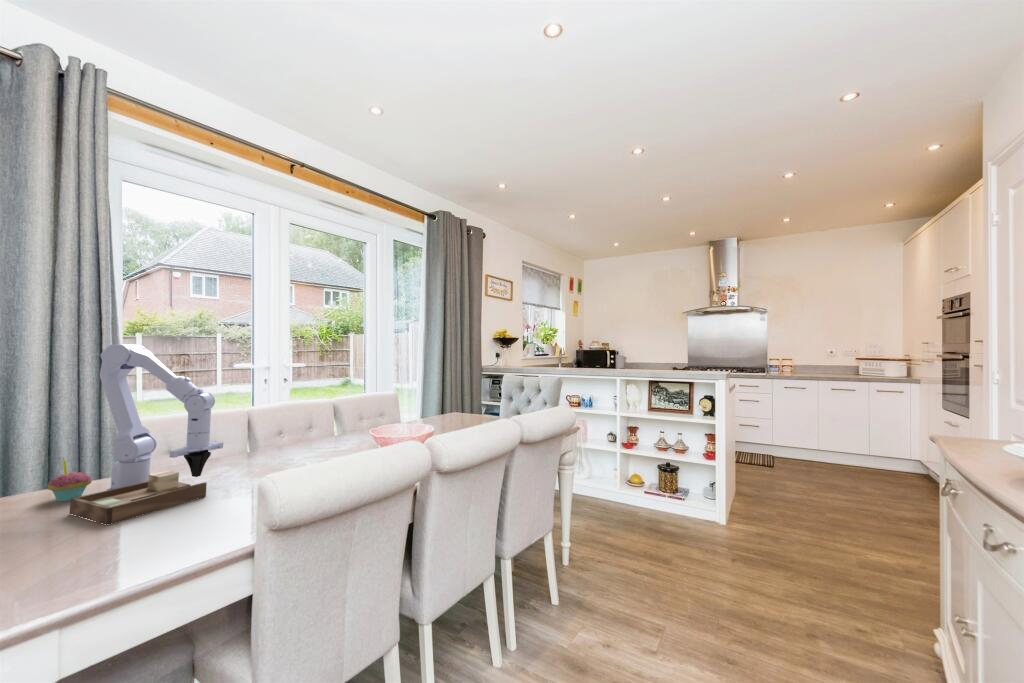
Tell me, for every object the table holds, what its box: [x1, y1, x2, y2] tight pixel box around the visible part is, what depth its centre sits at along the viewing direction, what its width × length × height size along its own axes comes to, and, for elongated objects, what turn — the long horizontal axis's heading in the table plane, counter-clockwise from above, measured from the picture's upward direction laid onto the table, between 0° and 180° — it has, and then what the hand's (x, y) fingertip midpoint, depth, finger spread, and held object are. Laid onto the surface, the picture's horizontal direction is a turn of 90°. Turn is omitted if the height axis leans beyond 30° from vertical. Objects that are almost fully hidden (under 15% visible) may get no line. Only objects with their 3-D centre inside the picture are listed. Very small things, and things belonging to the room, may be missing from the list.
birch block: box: [148, 470, 180, 491], centre depth 121 cm, size 5×5×4 cm
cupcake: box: [47, 457, 93, 502], centre depth 117 cm, size 9×8×12 cm
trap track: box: [69, 481, 208, 526], centre depth 114 cm, size 16×23×4 cm
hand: (196, 476), depth 130 cm, fingers closed
